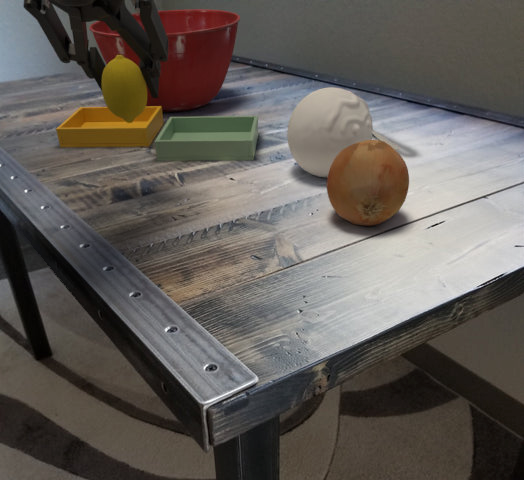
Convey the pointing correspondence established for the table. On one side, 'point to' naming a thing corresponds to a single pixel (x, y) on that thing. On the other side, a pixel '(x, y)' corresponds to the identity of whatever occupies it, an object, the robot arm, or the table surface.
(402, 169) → the onion
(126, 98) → the lemon
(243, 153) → the green tray
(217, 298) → the table surface
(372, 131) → the fork
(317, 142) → the decorative ball
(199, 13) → the mixing bowl
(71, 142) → the yellow tray
